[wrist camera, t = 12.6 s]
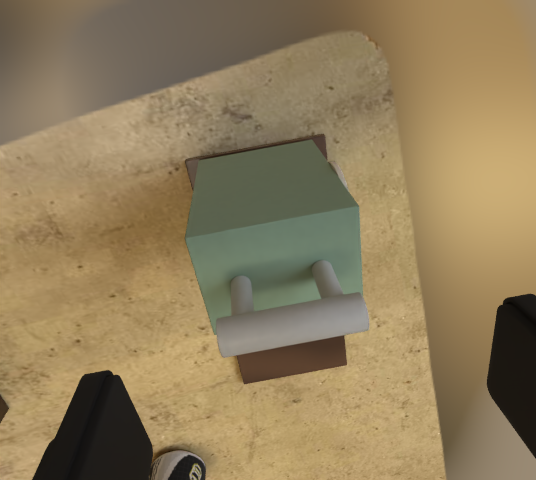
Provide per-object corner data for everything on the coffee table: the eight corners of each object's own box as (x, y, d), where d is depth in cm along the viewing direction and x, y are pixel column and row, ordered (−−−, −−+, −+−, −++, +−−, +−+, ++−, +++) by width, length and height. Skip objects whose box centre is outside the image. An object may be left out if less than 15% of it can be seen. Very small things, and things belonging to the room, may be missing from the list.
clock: (197, 157, 27) (171, 293, 14) (316, 135, 27) (403, 250, 14) (218, 236, 30) (213, 408, 17) (324, 217, 30) (401, 373, 17)
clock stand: (185, 159, 28) (184, 160, 28) (323, 133, 28) (325, 135, 28) (243, 380, 38) (244, 384, 37) (345, 361, 38) (347, 365, 38)
